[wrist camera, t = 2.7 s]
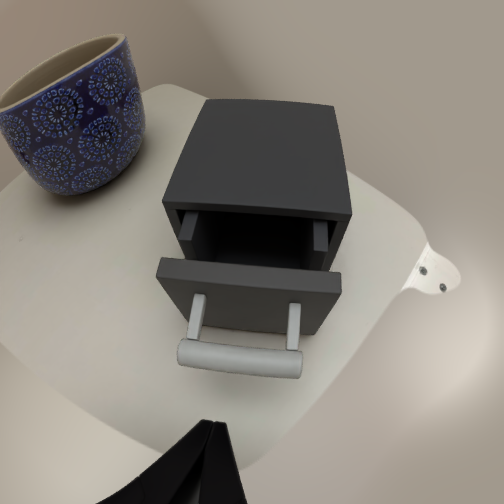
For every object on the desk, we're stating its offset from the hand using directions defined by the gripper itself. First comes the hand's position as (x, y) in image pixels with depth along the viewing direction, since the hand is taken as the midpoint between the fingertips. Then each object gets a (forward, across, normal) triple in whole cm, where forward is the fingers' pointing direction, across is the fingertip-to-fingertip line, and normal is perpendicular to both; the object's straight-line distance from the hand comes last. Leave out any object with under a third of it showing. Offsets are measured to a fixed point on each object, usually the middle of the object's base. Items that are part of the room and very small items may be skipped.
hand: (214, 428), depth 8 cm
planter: (+26, +22, -10) cm, 35 cm away
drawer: (+14, 0, 0) cm, 14 cm away
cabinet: (+19, 0, -4) cm, 20 cm away
